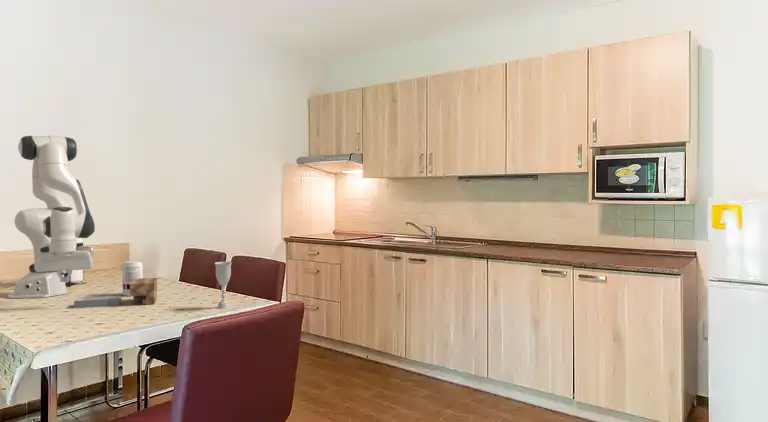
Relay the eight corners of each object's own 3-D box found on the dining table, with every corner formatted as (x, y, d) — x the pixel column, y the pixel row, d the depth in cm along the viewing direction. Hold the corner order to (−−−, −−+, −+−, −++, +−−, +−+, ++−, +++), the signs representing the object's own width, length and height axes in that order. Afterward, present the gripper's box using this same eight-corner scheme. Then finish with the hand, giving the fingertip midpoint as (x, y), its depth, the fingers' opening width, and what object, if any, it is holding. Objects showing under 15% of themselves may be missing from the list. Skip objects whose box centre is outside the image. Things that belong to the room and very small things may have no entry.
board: (74, 308, 210) (74, 301, 210) (78, 305, 217) (78, 297, 217) (118, 305, 215) (118, 298, 215) (121, 302, 222) (121, 295, 222)
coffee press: (51, 283, 268) (50, 224, 267) (87, 281, 275) (87, 223, 274) (46, 288, 253) (45, 226, 252) (84, 286, 259) (83, 225, 258)
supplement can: (118, 295, 236) (118, 262, 236) (132, 292, 244) (132, 260, 243) (133, 297, 234) (133, 263, 233) (146, 293, 242) (146, 261, 241)
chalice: (211, 306, 214) (211, 262, 213) (227, 304, 218) (227, 261, 218) (219, 309, 208) (218, 264, 208) (235, 307, 213) (235, 263, 212)
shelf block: (130, 305, 215) (129, 283, 215) (134, 299, 228) (134, 278, 228) (154, 304, 218) (153, 282, 217) (157, 298, 231) (156, 277, 231)
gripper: (94, 245, 217) (95, 279, 218) (37, 247, 211) (38, 282, 211) (91, 246, 211) (92, 281, 212) (32, 249, 205) (33, 284, 205)
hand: (64, 281), depth 211 cm, fingers closed
